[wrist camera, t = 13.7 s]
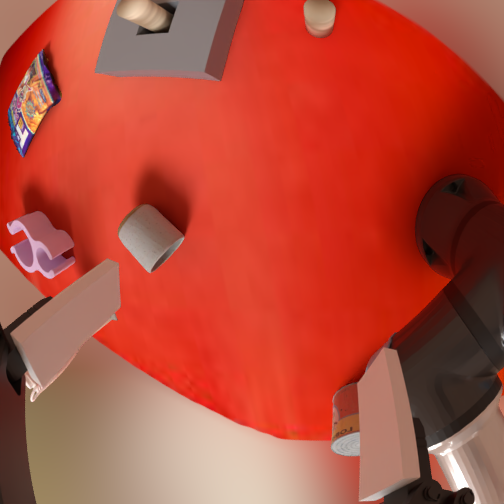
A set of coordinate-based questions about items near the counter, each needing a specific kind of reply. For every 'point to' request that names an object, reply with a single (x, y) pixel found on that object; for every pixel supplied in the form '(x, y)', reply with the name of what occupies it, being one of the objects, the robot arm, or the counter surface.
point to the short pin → (319, 17)
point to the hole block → (172, 42)
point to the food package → (32, 102)
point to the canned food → (346, 421)
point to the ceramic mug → (149, 236)
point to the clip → (41, 245)
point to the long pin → (145, 14)
